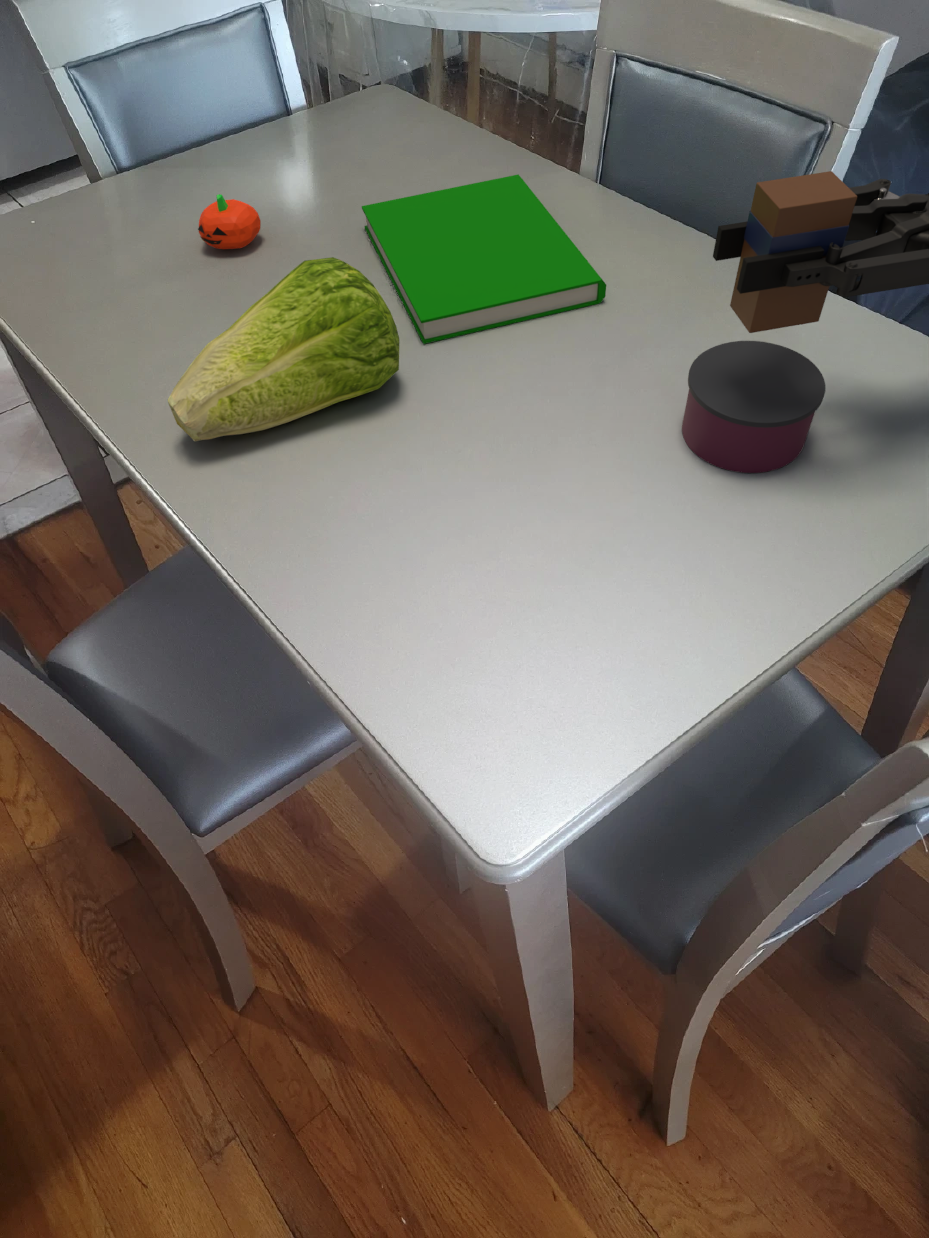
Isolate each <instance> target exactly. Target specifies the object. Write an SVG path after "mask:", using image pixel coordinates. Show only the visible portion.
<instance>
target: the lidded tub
mask: <svg viewBox="0 0 929 1238" xmlns="http://www.w3.org/2000/svg"><path fill="white" fill-rule="evenodd" d="M687 386H688V392H687V397H686V403H685V406H684V407H685V408H684V413H683V418H682V419H683V420H682V423H681V434H682V437H683V439H684V442H685V444H686V445H687V447H688V448H689V450H691V451H692V453H694V454H695V455H696V456H697V457H699V458H700V459H701V460H703V461H704V462H706V463H707V464H709V465H712V466H713V467H714V466H715V467H717V468H719V469H723V470H726V471H730V472H736V473H742V474H743V473H744V474H760V473H767V472H772V471H775V470H778V469H781V468H783V467H785V466H787V465H789V464H790V463H792V462H793V461H795V460H796V459H797V458H798V457H799V455H800V454H801V452H802V451H803V448H804V447H805V444H806V440H807V437H808V434H809V431H810V429H811V425H812V423H813V419H814V418H815V417H814V416H815V414H816V411H817V410H818V409H819V407H820V406H821V404H822V403H823V401H824V397H825V394H826V381H825V378H824V376H823V373H822V372H821V371H820V369H819V368H818V367H817V366H816V364H815V363H814V362H812V360H810V359H809V358H808V357H806V356H805V355H803V354H801V353H799V352H798V351H796V350H793V349H791V348H789V347H786V346H784V345H780V344H777V343H772V342H767V341H759V340H737V341H729V342H724V343H720V344H717V345H714V346H712V347H710V348H708V349H706V350H704V351H703V352H701V353H700V354H699V355H698V356H697V357H696V358H695V359H694V360H693V362H692V364H690V367H689V371H688V376H687Z"/></svg>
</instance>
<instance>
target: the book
mask: <svg viewBox="0 0 929 1238" xmlns="http://www.w3.org/2000/svg"><path fill="white" fill-rule="evenodd" d="M361 209H362V212H363V214H364V216H365V220H366V225H364V230H365V232H366V234H367V236H368V238H369V240H370V242H371V244H372V246H373V248H374V250H375V252H376V253H377V256H378V257H379V260H380V262H381V263H382V265H383V267H384V270H385V272H386V273H387V275H388V277H389V280H390V281H391V283H392V285H393V288H394V290H395V291H396V294H397V295H398V297H399V299H400V301H401V303H402V305H403V307H404V309H405V311H406V312H407V315H408V316H409V320H410V321H411V323H412V325H413V326H414V328H415V330H416V332H417V334H418V336H419V339H420V340H421V342H422V344H423V345H425V344H431V343H434V342H439V341H443V340H447V339H451V338H457V337H461V336H464V335H465V336H466V335H470V334H474V333H477V332H478V333H479V332H481V331H486V330H490V329H495V328H499V327H505V326H508V325H512V324H517V323H521V322H525V321H530V320H534V319H538V318H542V317H548V316H552V315H555V314H560V313H565V312H569V311H572V310H573V311H574V310H577V309H581V308H586V307H590V306H595V305H599V304H601V303H602V302H603V301H604V299H605V298H606V293H607V283H606V282H605V281H604V280H603V278H602V277H601V276H600V274H598V272H597V271H596V269H594V266H592V265H591V263H590V262H589V261H588V259H587V258H586V257H585V255H584V254H583V253H582V252H581V251H580V250H579V248H578V247H577V246H576V244H575V243H574V242H573V241H572V240H571V238H570V237H569V236H568V234H567V233H566V232H565V230H564V229H563V228H562V227H561V226H560V224H559V223H558V221H557V220H556V219H555V218H554V216H553V215H552V214H551V213H550V211H549V210H548V209H547V208H546V207H545V206H544V204H543V203H542V202H541V200H540V199H539V198H538V197H537V196H536V194H535V193H534V191H533V190H532V189H531V187H529V185H528V184H527V183H526V182H525V180H524V179H523V178H522V177H521V176H520V174H513V175H509V176H503V177H499V178H493V179H489V180H483V181H479V182H473V183H468V184H464V185H459V186H453V187H449V188H444V189H439V190H433V191H430V192H425V193H419V194H415V195H409V196H404V197H400V198H396V199H390V200H384V201H379V202H375V203H371V204H370V203H369V204H365V205H361Z"/></svg>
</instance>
